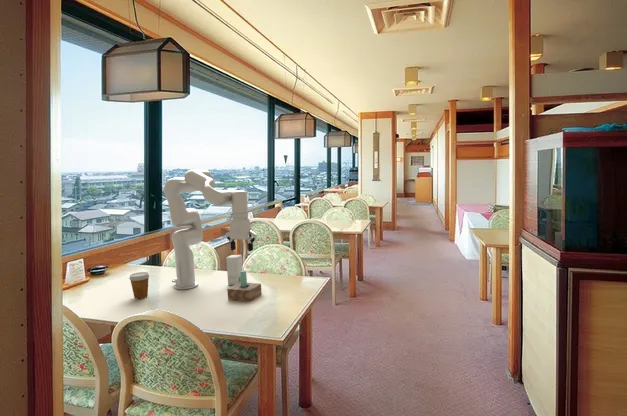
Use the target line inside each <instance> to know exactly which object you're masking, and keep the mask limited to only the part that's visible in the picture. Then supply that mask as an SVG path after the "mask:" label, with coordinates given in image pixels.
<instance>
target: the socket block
mask: <svg viewBox="0 0 627 416" xmlns="http://www.w3.org/2000/svg"><path fill="white" fill-rule="evenodd" d="M262 293H263V292H262V283H259V282H258V283H257V282H247V288H242V287H241V282H240V283H238V284H236V285H231V286H230V287H229V288H227V300H228V301H237V302H238V301H239V302H248V303H250V302H252V301H253V300H255V299H257V298H259V296H261V295H262Z"/></svg>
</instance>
